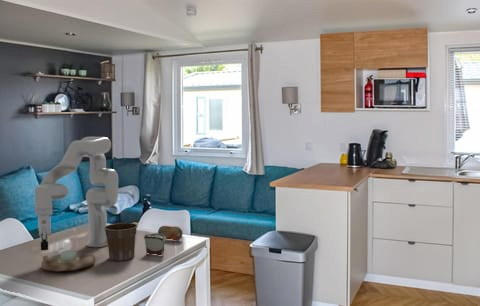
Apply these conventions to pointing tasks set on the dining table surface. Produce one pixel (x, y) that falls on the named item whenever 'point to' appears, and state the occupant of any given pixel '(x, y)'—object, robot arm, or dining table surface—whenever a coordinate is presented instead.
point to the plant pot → (121, 240)
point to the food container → (155, 243)
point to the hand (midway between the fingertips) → (44, 249)
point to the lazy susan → (56, 264)
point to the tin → (171, 232)
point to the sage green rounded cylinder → (68, 256)
